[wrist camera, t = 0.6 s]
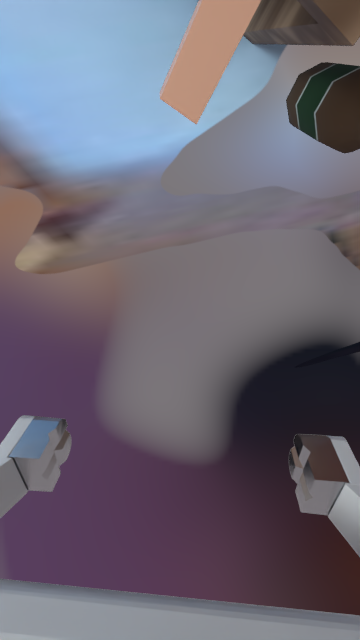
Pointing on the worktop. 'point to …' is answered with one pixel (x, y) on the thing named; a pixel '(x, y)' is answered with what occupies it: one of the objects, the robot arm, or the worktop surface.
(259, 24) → the shelf
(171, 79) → the bar
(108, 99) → the worktop surface
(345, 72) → the beer bottle
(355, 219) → the worktop surface
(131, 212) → the worktop surface
